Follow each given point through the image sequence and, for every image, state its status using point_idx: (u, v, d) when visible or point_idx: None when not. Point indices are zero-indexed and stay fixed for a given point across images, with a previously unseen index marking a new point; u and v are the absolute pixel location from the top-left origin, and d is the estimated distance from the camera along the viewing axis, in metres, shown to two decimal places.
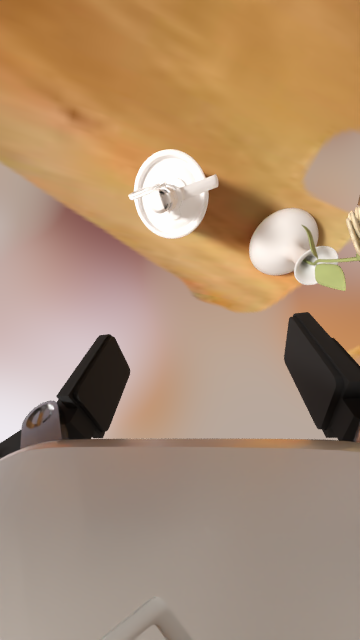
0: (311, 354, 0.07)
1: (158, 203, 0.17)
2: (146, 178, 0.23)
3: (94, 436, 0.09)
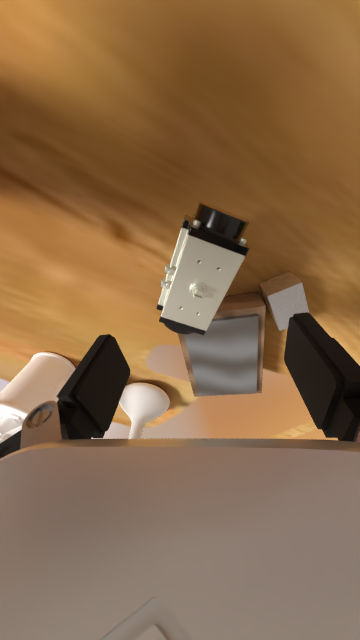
0: (311, 354, 0.07)
1: None
2: None
3: (94, 436, 0.09)
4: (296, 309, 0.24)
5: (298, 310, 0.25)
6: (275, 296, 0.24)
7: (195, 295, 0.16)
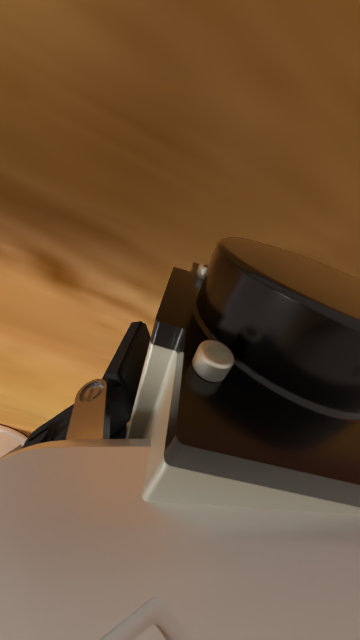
0: None
1: None
2: None
3: None
4: None
5: None
6: None
7: None
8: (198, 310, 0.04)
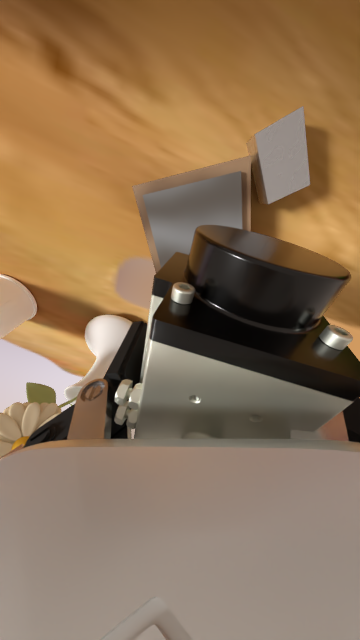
0: None
1: None
2: None
3: None
4: (292, 161, 0.18)
5: (295, 163, 0.18)
6: (265, 134, 0.17)
7: None
8: (184, 274, 0.06)
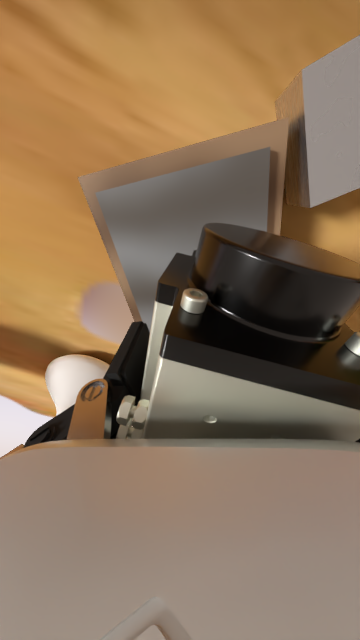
0: None
1: None
2: None
3: None
4: None
5: None
6: (321, 71, 0.09)
7: None
8: (191, 277, 0.06)
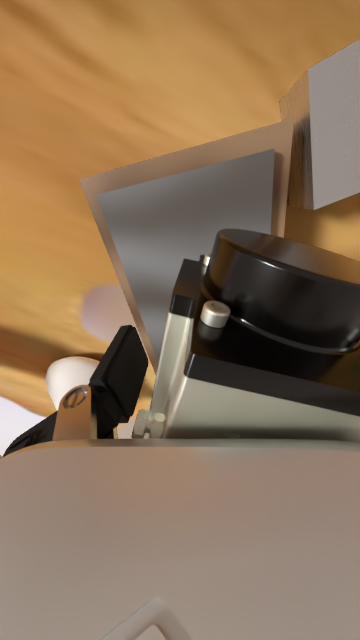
0: None
1: None
2: None
3: (120, 420, 0.09)
4: None
5: None
6: (328, 70, 0.09)
7: None
8: (204, 286, 0.05)
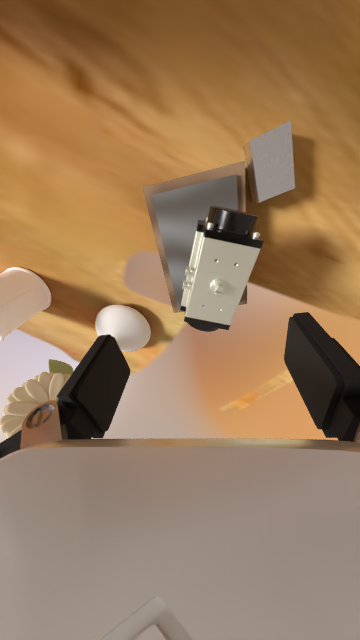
0: (311, 354, 0.07)
1: None
2: None
3: (94, 435, 0.09)
4: (280, 167, 0.21)
5: (283, 169, 0.21)
6: (258, 142, 0.20)
7: (216, 292, 0.16)
8: (207, 223, 0.17)
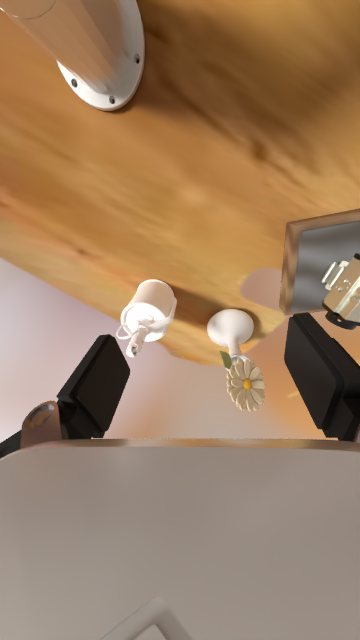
0: (311, 354, 0.07)
1: (131, 354, 0.30)
2: (128, 312, 0.37)
3: (94, 435, 0.09)
4: None
5: None
6: None
7: None
8: None
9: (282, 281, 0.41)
